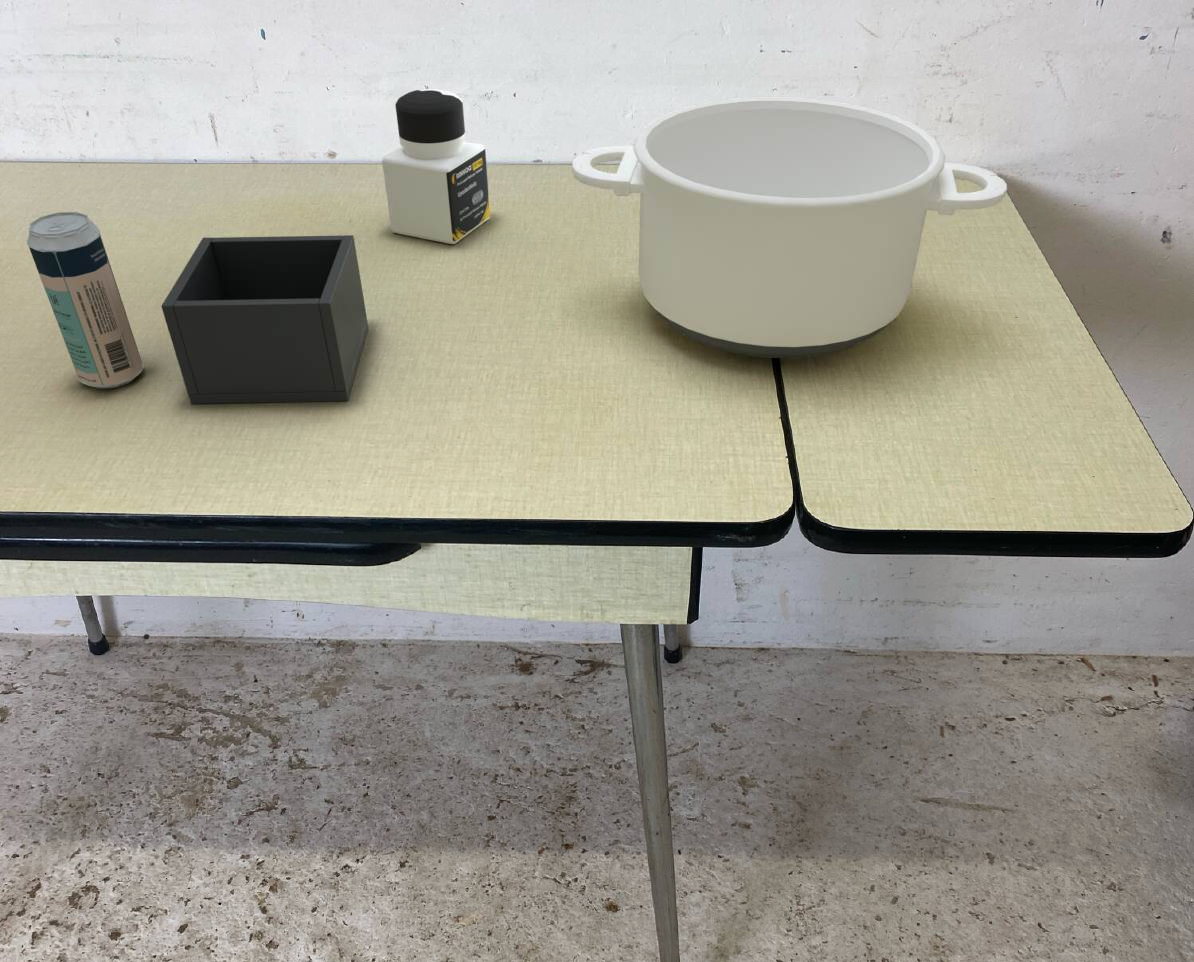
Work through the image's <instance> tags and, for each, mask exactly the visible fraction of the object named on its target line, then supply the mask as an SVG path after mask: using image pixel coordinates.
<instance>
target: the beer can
mask: <svg viewBox="0 0 1194 962" xmlns="http://www.w3.org/2000/svg"><path fill="white" fill-rule="evenodd" d="M26 245H27V247H28V248H29V251H30V254H31V256H32V259H33V262H34V264H35V268H36V270H37V272H38V275H39V277H40V280H41V283H42V285H43V288H44V291H45V293H46V296H47V299H48V301H49V305H50V307H51V309H52V312H53V314H54V317H55V320H56V323H57V325H58V328H59V331H60V333H61V336H62V338H63V341H64V344H65V347H66V349H67V352H68V354H69V357H70V360H71V362H72V365H73V368H74V370H75V373H76V375H77V379H78V381H79V382H80V383H81V384H83V385H86V386H87V387H88V386H89V387H92V388H96V389H114V388H119V387H122V386H125V385H127V384H129V383H131V382H132V381H134V380H135V379H136V378H137V377H138V376H139V375H140V374H141V373H142V372H143V370H144V367H145V366H144V361H143V360H142V358H141V354H140V351H139V347H138V345H137V342H136V338H135V337H134V332H133V330H132V327H131V323H130V321H129V318H128V316H127V315H128V314H127V312H126V309H125V305H124V303H123V300H122V297H121V293H120V290H119V287H118V284H117V281H116V278H115V275H114V272H113V269H112V266H111V263H110V259H109V257H108V254H107V250H106V247H105V245H104V242H103V239H102V236H101V230H100V228H99V227H98V226H97V225H96V224H95V223H94V222H93V221H92V220H91V219H90V217H89V216H88V214H84V213H81V212H78V211H63V212H54V213H51V214H47V215H43V216H40V217H38V218H36V219H35V220H33V221H32V222H30V223H29V227H28V236H27V239H26Z"/></svg>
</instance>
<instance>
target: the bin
mask: <svg viewBox="0 0 1194 962" xmlns="http://www.w3.org/2000/svg"><path fill="white" fill-rule="evenodd" d="M364 297H365V296H364V292H363V285H362V280H361V274H360V267H359V262H358V253H357V248H356V242H355V237H354V235H353V234H351V235H349V234H347V235H345V234H344V235H288V236H285V235H284V236H283V235H282V236H234V237H233V236H232V237H231V236H228V237H226V236H225V237H224V236H223V237H202V238H201V240H200V241H199V244H197V247H196V248H195V250H194V251H193V253H192V255H191V257H190V258H189V260H188V261H187V263H186V264H185V266H184V267H183V270H182V271H181V273H180V274H179V276H178V277H177V279H176V281H175V283H174V284H173V285H172V287H171V290H170V291H169V293H168V294H167V295H166V297H165V300H164V301H163V303H162V304H161V311H162V313H163V317H164V320H165V324H166V325H167V330H168V334H169V337H170V339H171V343H172V347H173V350H174V353H175V357H176V360H177V363H178V366H179V371H180V373H181V376H182V379H183V383H184V386H185V389H186V393H187V395H188V396H187V397H188V399H189V402H190V404H191V405H193V404H194V405H200V404H201V405H202V404H251V403H253V404H256V403H299V402H300V403H303V402H347V401H349V399H350V395H351V391H352V387H353V384H354V379H355V376H356V373H357V369H358V365H359V361H360V359H361V354H362V351H363V347H364V345H365V344H364V343H365V341H366V337H367V333H368V330H369V323H368V316H367V311H366V304H365V298H364Z"/></svg>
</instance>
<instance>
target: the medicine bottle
mask: <svg viewBox="0 0 1194 962" xmlns="http://www.w3.org/2000/svg"><path fill="white" fill-rule="evenodd" d="M463 102H464V101H463V100H462V98H461V97H460V96H459V95H458V94H456V93H453V92H451V91H449V90H445V89H441V88H421V89H416V90H412V91H410V92H407V93H405V94H403V95H402V96H400V97H399V98H398V99H397V101H396V102H395V105H394V106H395V113H396V121H397V122H396V123H397V129H398V137H399V144H400V147H399V148H396V149H395V150H393V151H392V152H390V153H388V154H386V155H385V156H383V157H382V159H381V163H382V164H381V165H382V170H383V171H382V172H383V176H384V177H383V178H384V184H385V192H386V200H387V206H388V215H389V221H390V228H391V231H392V233H394V234H398V235H404V236H407V237H414V238H419V239H423V240H427V241H428V240H429V241H434V242H439V243H444V244H448V245H456V244H457V243H459V242H460V241H461V240H462V239H464V238H465V237H467V236H468V235H469V234H470V233H472V232H473V231H475V230H476V229H478V228H479V227H480V226H481V225H483V224H484V223H485V222H487V221H488V220H489V219H490V218H491V211H490V209H491V208H490V197H489V182H488V167H487V154H486V153H487V152H486V146H485V145H484V144H482V143H475V142H469V141H466V140H467V139H466V127H465V115H464V103H463Z"/></svg>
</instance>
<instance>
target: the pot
mask: <svg viewBox="0 0 1194 962" xmlns="http://www.w3.org/2000/svg"><path fill="white" fill-rule="evenodd" d="M609 162H620V163H619V166H618V168H617V171H616V172H615V173H612V172H610V173H609V172H605V171H601V170H598V169H596V168H594V167H596V166H598V165H600V164H603V163H609ZM571 173H572V174H573V178H574V179H575V180H577V181H578V182H580V183H581V184H584V185H586V186H588V187H593V188H597V189H602V190H612V191H613V192H614V194H615V195H616V196H617V197H630V195H631V194H640V195H639V196H640V197H639V232H638V234H639V235H638V236H639V238H638V278H639V279H638V280H639V283H640V284H639V285H640V288H641V291H642V294H643V297H644V298H645V299H646V301H647V302H648V304H649V305H650V308H651V309H652V310H653V311H654V312H655V314H656V315H657V316H658V318H660V319H661V320H662V321H663V322H665V323H666V324H667V325H669V326H670V327H671V328H673V329H674V330H675V331H676V332H678V333H679V334H681V335H682V336H684V337H686V338H688V339H690V340H693V341H694V342H696V343H699V344H701V345H703V346H707V347H710V348H713V349H715V350H718V351H722V352H727V353H731V354H736V355H740V356H747V357H757V358H766V359H799V358H813V357H818V356H823V355H824V356H825V355H829V354H830V355H831V354H834V353H837V352H841V351H844V350H847V349H850V348H853V347H855V346H857V345H859V344H861V343H864V342H865V341H867V340H868V339H870V338H873V337H875V336H876V335H878V334H879V333H881V332H882V331H883V330H884V329H886V328H887V327H888V326H889V325H890V324H891V323H892V322H893V321H894V320H895V318H897V317H898V316H899V315H900V313H901V312H902V310H903V308H904V307H905V305H906V304H907V300H908V298H909V296H910V294H911V290H912V285H913V280H914V275H915V270H916V266H917V261H918V255H919V252H920V246H921V241H922V237H923V231H924V227H925V221H926V218H927V217H926V216H927V213H928V212H927V211H932V212H933V211H937V215H939V216H953V215H954V214H955V213H956V212H957V211H959V210H960V211H961V210H965V211H972V210H981V209H987V208H992V207H995V206H997V205H998V204H1000V203H1002V202H1003V200H1004V199H1005V197H1006V195H1007V191H1008V184H1007V183H1006V181H1005V180H1004V179H1003V178H1002V177H1000V176H999V175H998V173H996V172H993V171H991V170H989V169H987V168H983V167H979V166H977V165H970V164H965V163H956V162H946V154H945V152H944V150H943V147H942V145H941V144H940V142H939V141H938V140H937V139H936V138H935V137H934V136H933V135H932V134H930V133H929V132H928V131H926V130H924V129H923V128H921V127H919V126H917V125H916V124H915V123H913V122H911V121H909V120H906V119H904V118H901V117H898V116H897V115H894V114H892V113H889V112H885V111H881V110H878V109H875V108H871V107H868V106H863V105H858V104H853V103H848V102H843V101H835V100H828V99H821V98H812V97H811V98H810V97H809V98H808V97H795V96H751V97H735V98H726V99H718V100H711V101H707V102H706V101H705V102H701V103H696V104H692V105H689V106H684V107H681V108H679V109H674V110H672V111H670V112H667V113H665V114H663V115H661V116H659V117H655V119H653V120H651V121H650V122H649V123H647V124H646V125H645V126H643V127H642V129H641V130H640V131H639V133H638V134H637V135H636V136H635V139H634V143H633V145H611V146H609V145H608V146H602V147H601V146H600V147H596V148H591V149H588V150H585V151H583V152H582V153H581V154H580V155H577V156H576V157H575V158H574V159H573V160H572V165H571ZM955 180H960V181H964V182H969V183H972V184H975V185H977V186H979V187H981V188H982V189H981V190H977V191H973V192H958V189H957V185H956V181H955Z"/></svg>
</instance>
